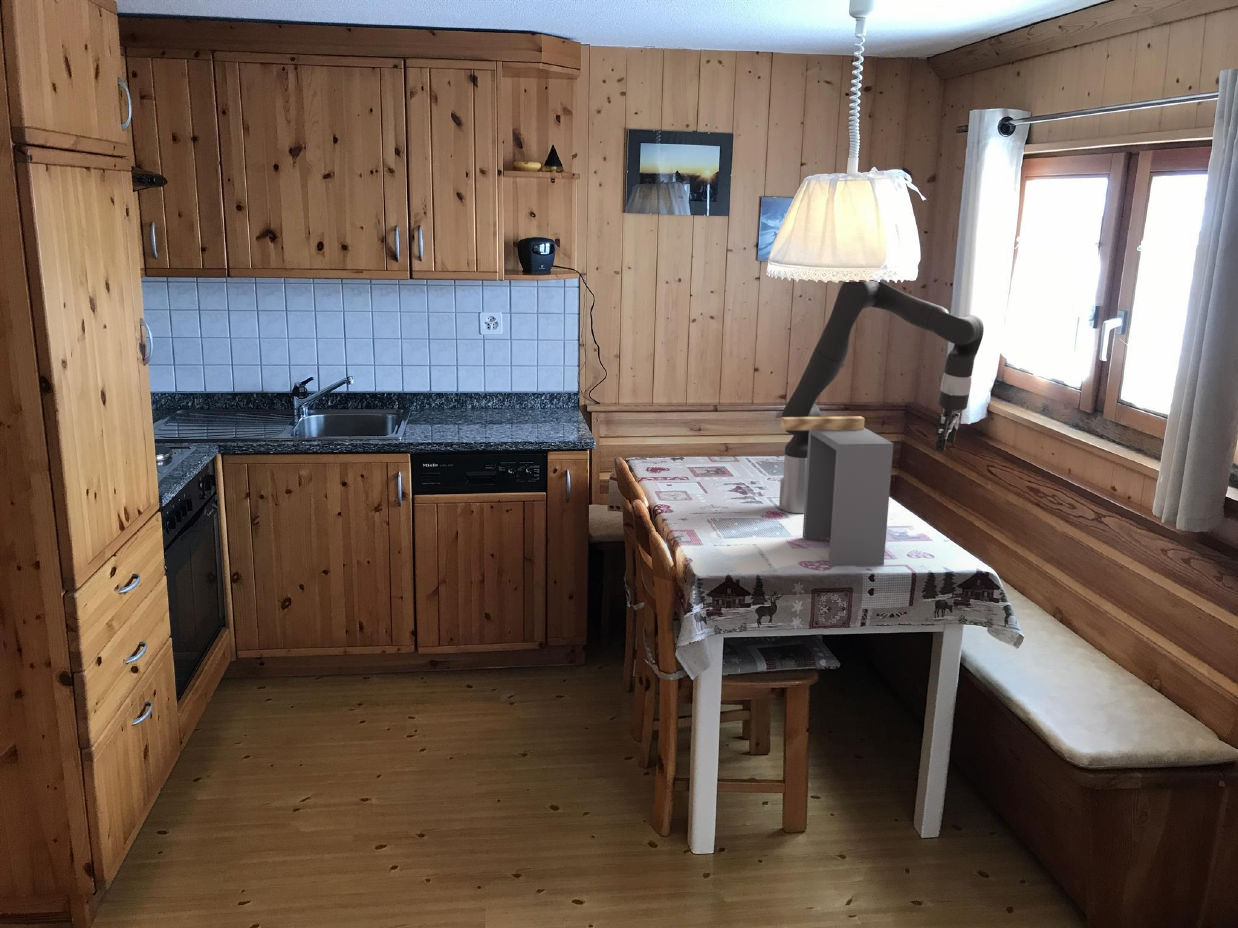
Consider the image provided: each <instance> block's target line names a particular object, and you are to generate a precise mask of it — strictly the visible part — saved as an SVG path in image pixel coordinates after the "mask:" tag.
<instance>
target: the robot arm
mask: <svg viewBox="0 0 1238 928" xmlns="http://www.w3.org/2000/svg"><path fill="white" fill-rule="evenodd" d="M870 307H871V308H874V309H881V310H885V311H888V312H890V313H893V314H895V315H897V316H898V317H899V318H901V319H902V320H904V321H906V322H907V323H908V324H911V325H913V326H916V327H917V328H921V329H923V330H926V331H927V332H931V333H934V334H936V335H937V336H938V337H939V338H941V339H943V340H945V341H947V342H949V343H951V344H953V347H952V350H950V351H949V352H948V354H947V356H946V361H945V366H944V372H943V375H942V378H941V383H940V388H939V389H940V390H939V396H938V401H937V405H938V406H939V407H940V408H943V410H944V411H943V412H942V413H941V414H939V416H938V417H937V419H938V420H937V424H936V430H935V434H934V437H936V438H937V440H936V446H935V450H936V451H938V452H942V453H944V451H945V450H946V446H947V445H946V444H947V443H950V444H954V443H955V440H956V434H957V430H958V429H959V427H960V426H961V421H962V416H963V411H964V410H966V409H967V407H968V403H969V398H970V392H971V386H972V376H973V371H974V365H975V359H976V357H977V354H978V351H979V348H980V345H981V343H982V341H983V337H984V330H985V329H984V323H983V321H982V319H981V318H980V317H979V316H977V315H973V314H969V315H965V316H961V317H958V316H956V315H953V314H951V313H949V310H948V309H947V308H945V307H943V306H941V305H938V304H935V303H931V302H929V301H927V300H923V299H921V298H918V297H915V296H913V295H910V294H908V293H905V292H902V291H900V290H898V289H896V288H895V287H893V286H890V285H888V284H887V283H885V282H883V281H882V282H875V281H869V282H845V281H843V283H842V284H841V286H840V288H839V290H838V293H837V296H836V299H835V301H834V305H833V307H832V310H831V314H830V316H829V318H828V321H827V323H826V325H825V326H824V329H823V330H822V333H821V335H820V338H819V340H818V341H817V343H816V345H815V347H814V350H813V352H812V354H811V356H810V358H809V361H808V362H807V363H808V364H807V365H806V368H805V370H804V372H803V373H802V375H801V378H800V380H799V382H798V384H797V386H796V389H795V390H794V391H793V393H792V395H791V397H790V398H789V400H788V401H787V403H786V405H785V407H784V408H783V411H782V413H781V417H822V413H821V410H820V408H819V406H818V404H816V400H817V399H818V398H819V396H820V395H821V394H822V393H823V392H824V391H825V390H826V389H827V387H828V386H829V385H831V383H832V382H833V381H834V380H835V379H836V377H837V376H838V375H839V373H840V371H841V370H842V367H843V365H844V363H845V361H846V359H847V357H848V354H849V350H850V343H851V334H852V333H851V332H852V330H853V326H854V325H855V323H856V321H857V319H858V317H859V315H860V313H861V312H862V311H863V310H864V309H867V308H870ZM942 431H943V433H942ZM785 432H786V433H788V434H789V435H792V437H791V439H790V440H789V441H788V442H787V443H786V445H785V446H784V458H783V463H784V464H783V476H782V477H781V478H780V480H779V481H780V483H779V485H780V487H779V500H778V501H779V503H778V504H779V505H778V509H781V510H783V511H785V512H787V513H793V514H804V505H805V488H806V471H807V454H808V437H809V430H787V431H785Z"/></svg>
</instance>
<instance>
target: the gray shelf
mask: <svg viewBox="0 0 1238 928" xmlns="http://www.w3.org/2000/svg"><path fill="white" fill-rule="evenodd" d="M893 453H894V443H893V442H892V441H889V440H887V438H884V437H883V436H880V435H879V434H877V433H875V432H873V431H871V430H870V429H868V428H866V427H864V429H858V430H809V437H808V454H807V471H806V488H805V505H804V513H803V523H802V524H803V525H802V539H803V538H804V539H803V540H805V541H813V540H816V541H817V540H830V544H829V555H828V558H829V559H828V564H830V566H829V567H851V566H853V567H856V566H860V567H861V566H884V565H885V554H886V553H885V552H886V543H887V542H886V540H887V529H888V518H889V517H888V516H889V505H890V503H889V502H890V492H891V478H892V468H893V467H892V465H893V455H894V454H893Z"/></svg>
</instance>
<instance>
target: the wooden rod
mask: <svg viewBox="0 0 1238 928" xmlns="http://www.w3.org/2000/svg"><path fill="white" fill-rule="evenodd" d="M864 428H865V417H863V416H859V415H857V416H855V415H854V416H853V415H851V416H847V415H845V416H844V415H843V416H840V415H839V416H821V417H782V416H781V417H780V429H781V430H782V431H785V432H786V431H787V430H858V429H864Z"/></svg>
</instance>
